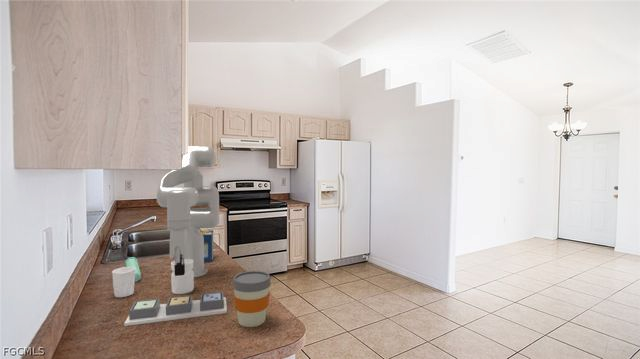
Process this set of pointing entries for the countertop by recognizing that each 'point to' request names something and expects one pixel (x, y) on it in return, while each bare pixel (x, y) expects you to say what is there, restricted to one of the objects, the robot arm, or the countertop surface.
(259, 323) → the reusable coffee cup
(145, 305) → the button
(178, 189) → the robot arm
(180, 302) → the button
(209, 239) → the protein box
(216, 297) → the button
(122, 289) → the white cup
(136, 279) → the container
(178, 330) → the countertop surface
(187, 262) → the vase
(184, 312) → the button panel
